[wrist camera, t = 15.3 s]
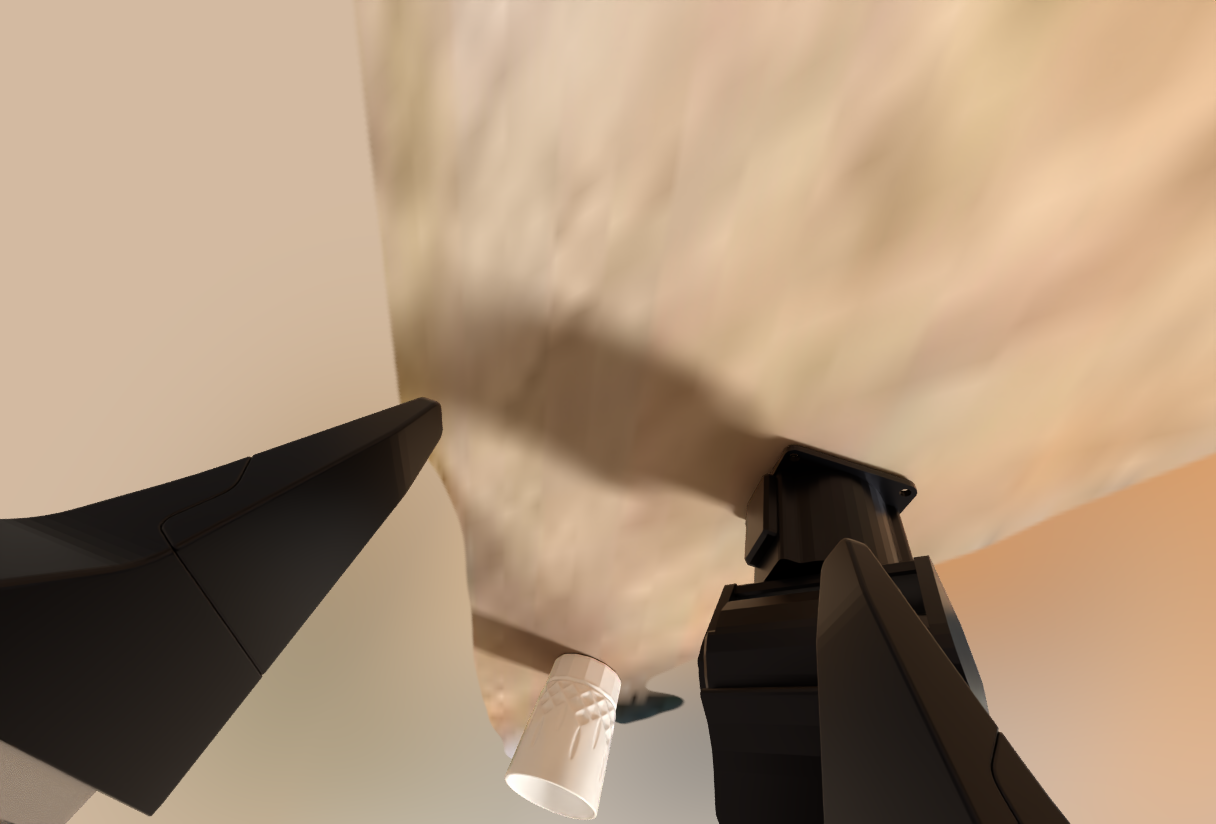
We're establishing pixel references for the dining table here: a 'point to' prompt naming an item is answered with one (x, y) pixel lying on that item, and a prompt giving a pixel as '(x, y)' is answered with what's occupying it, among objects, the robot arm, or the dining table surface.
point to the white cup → (568, 739)
